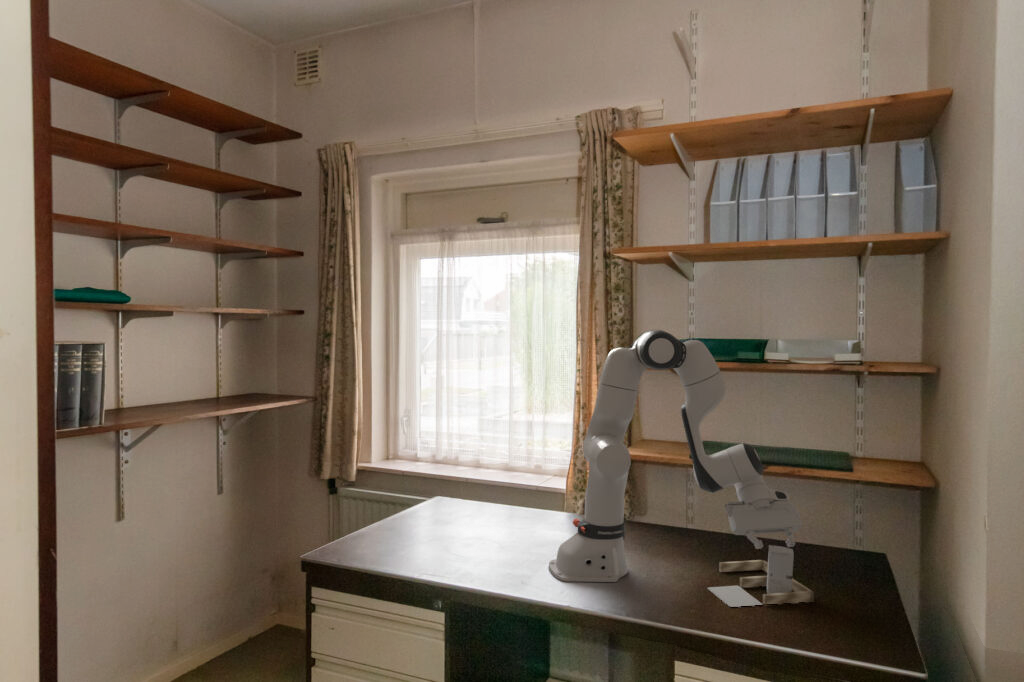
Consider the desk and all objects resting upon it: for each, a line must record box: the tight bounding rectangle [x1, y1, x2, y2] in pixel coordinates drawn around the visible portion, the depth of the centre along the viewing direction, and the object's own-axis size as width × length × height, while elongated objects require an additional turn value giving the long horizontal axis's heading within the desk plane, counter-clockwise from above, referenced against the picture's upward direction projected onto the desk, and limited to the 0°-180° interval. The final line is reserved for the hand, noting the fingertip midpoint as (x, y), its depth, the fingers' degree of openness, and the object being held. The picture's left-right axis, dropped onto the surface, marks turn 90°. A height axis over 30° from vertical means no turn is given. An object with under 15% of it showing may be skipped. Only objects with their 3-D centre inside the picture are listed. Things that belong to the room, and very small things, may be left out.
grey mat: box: [706, 585, 764, 608], centre depth 174 cm, size 9×12×1 cm
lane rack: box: [718, 559, 815, 605], centre depth 182 cm, size 14×23×2 cm, turn 12°
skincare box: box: [765, 544, 795, 594], centre depth 176 cm, size 6×4×12 cm
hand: (775, 546), depth 178 cm, fingers open, 8 cm apart
